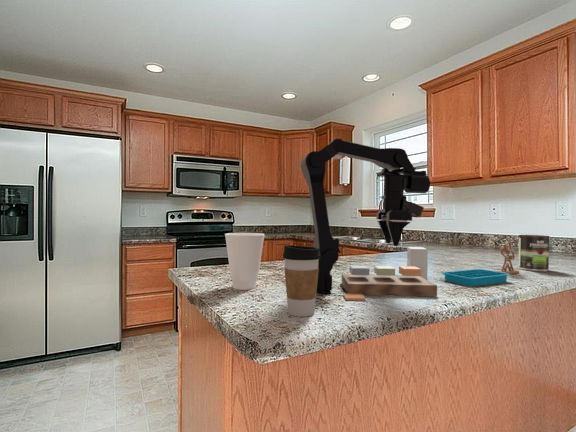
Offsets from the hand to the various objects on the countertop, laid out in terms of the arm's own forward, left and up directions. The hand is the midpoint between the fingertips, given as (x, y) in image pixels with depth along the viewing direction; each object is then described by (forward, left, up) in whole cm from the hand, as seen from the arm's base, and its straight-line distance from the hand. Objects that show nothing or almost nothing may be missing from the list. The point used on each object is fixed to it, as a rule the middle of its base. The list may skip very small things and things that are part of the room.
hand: (391, 244), depth 100 cm
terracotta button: (+6, +1, -9) cm, 10 cm away
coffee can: (+69, +41, -14) cm, 81 cm away
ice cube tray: (+32, +14, -14) cm, 37 cm away
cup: (-44, -1, -13) cm, 46 cm away
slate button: (-9, +1, -9) cm, 13 cm away
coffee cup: (-27, -26, -13) cm, 40 cm away
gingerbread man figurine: (+52, +30, -14) cm, 62 cm away
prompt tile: (-13, -12, -13) cm, 22 cm away
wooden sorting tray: (-2, -1, -13) cm, 13 cm away
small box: (+14, +19, -14) cm, 27 cm away
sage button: (-2, +1, -9) cm, 9 cm away
